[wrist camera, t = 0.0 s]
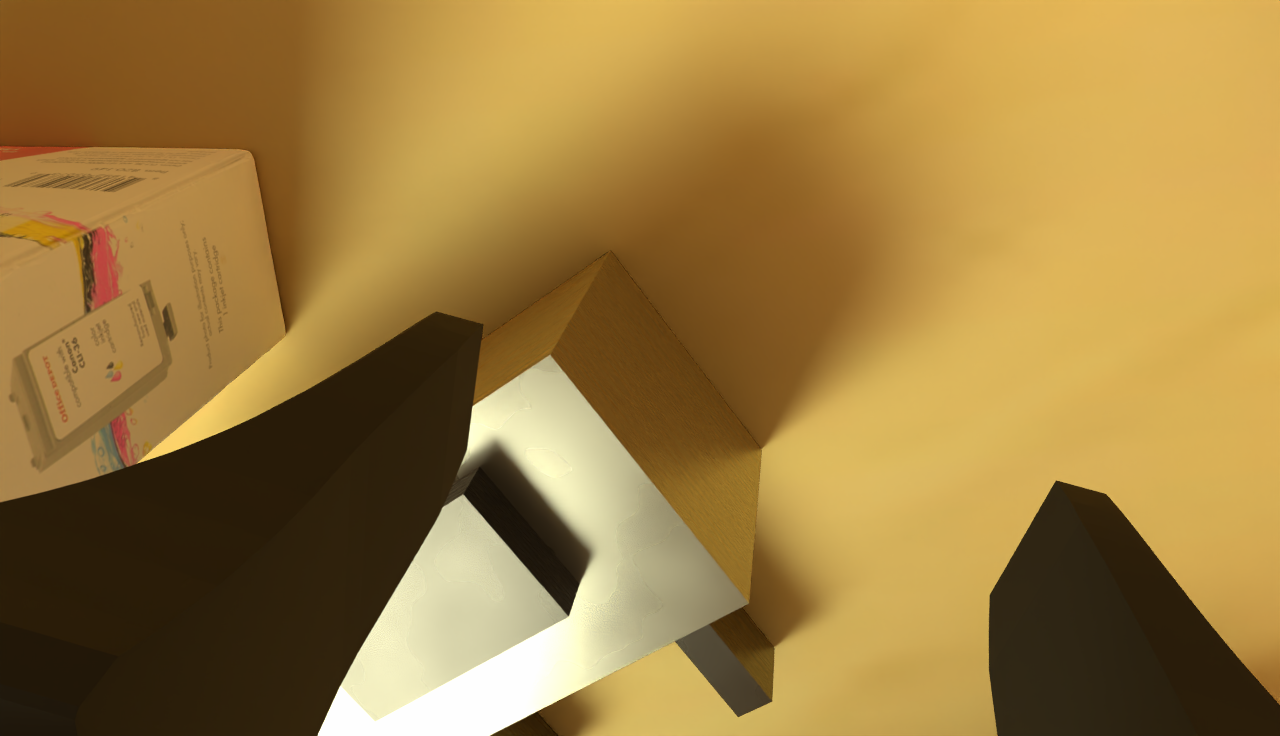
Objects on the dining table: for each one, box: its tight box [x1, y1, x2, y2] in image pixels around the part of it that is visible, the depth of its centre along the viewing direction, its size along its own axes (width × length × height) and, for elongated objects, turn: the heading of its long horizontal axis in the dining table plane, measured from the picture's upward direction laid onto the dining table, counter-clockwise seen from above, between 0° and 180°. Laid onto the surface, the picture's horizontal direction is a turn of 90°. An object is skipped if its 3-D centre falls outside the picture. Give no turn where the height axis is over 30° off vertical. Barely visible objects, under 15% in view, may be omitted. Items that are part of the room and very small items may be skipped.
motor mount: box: [318, 251, 775, 736], centre depth 24 cm, size 16×11×7 cm
